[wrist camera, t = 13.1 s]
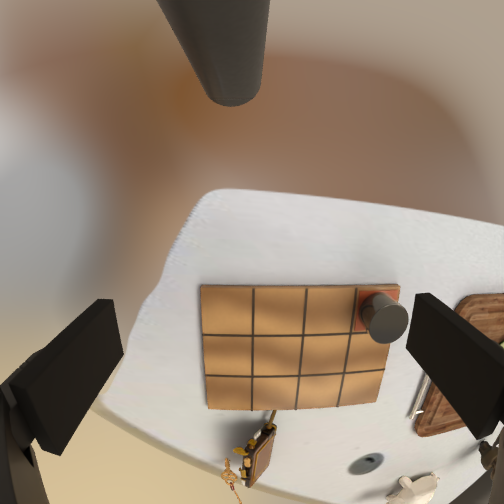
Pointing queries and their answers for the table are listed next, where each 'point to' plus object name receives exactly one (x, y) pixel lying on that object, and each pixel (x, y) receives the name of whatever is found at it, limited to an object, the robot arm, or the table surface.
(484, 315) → the chopping board
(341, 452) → the table surface
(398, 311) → the dark grey short cylinder
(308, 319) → the game board
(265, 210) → the table surface
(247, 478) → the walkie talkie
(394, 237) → the table surface
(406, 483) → the white lumpy sculpture
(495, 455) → the light bulb
